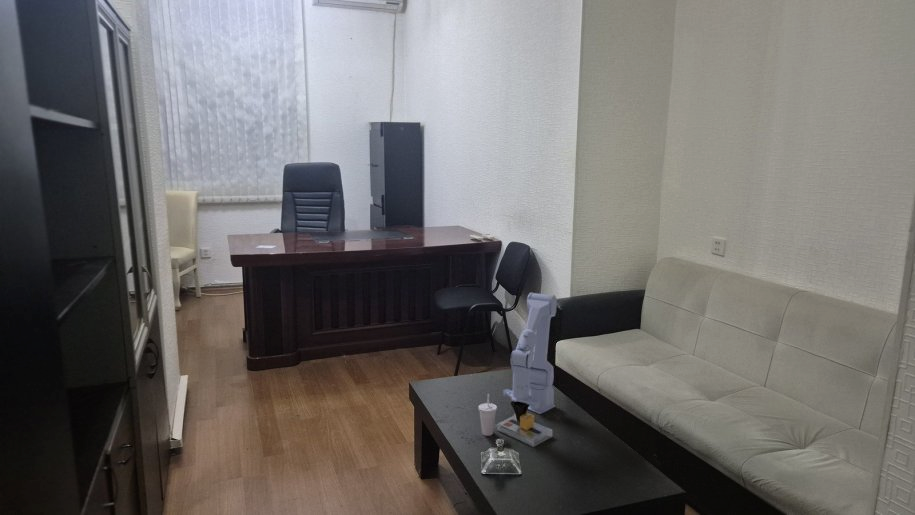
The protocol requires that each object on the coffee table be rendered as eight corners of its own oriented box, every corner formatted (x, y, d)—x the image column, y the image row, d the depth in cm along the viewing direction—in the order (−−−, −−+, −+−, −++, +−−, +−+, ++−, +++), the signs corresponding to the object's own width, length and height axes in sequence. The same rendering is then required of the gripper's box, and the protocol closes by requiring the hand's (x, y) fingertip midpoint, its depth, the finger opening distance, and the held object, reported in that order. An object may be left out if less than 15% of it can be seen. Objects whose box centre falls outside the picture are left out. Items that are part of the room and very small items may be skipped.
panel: (516, 420, 213) (516, 414, 213) (552, 436, 202) (552, 429, 201) (497, 430, 206) (497, 423, 206) (533, 447, 195) (534, 439, 194)
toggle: (527, 423, 205) (527, 412, 204) (534, 426, 203) (534, 415, 202) (519, 427, 202) (520, 415, 202) (526, 430, 200) (526, 418, 200)
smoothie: (498, 430, 206) (499, 392, 203) (493, 438, 200) (494, 400, 197) (481, 427, 208) (481, 390, 205) (475, 435, 202) (476, 397, 200)
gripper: (497, 380, 204) (496, 417, 207) (530, 393, 194) (529, 432, 197) (510, 375, 209) (510, 411, 212) (543, 387, 199) (542, 425, 202)
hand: (520, 420), depth 205 cm, fingers closed
